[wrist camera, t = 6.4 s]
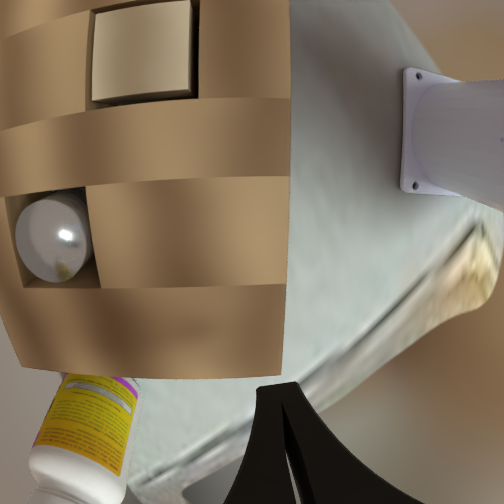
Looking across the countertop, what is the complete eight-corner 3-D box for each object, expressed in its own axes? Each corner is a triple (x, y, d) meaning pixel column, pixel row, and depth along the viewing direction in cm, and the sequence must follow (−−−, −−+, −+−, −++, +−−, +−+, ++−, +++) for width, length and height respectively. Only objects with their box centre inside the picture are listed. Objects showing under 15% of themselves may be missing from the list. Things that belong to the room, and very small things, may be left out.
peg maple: (198, 32, 14) (189, 0, 10) (197, 100, 16) (188, 89, 11) (126, 40, 14) (96, 14, 9) (125, 106, 15) (91, 100, 11)
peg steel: (111, 179, 17) (76, 196, 12) (119, 246, 18) (90, 282, 14) (53, 185, 16) (9, 205, 12) (62, 248, 18) (25, 282, 13)
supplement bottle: (61, 348, 21) (-7, 481, 9) (141, 362, 22) (104, 521, 10) (76, 405, 23) (36, 524, 11) (146, 418, 24) (126, 551, 12)
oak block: (270, -23, 13) (286, -65, 9) (269, 324, 21) (281, 375, 17) (21, 16, 12) (-22, -1, 7) (50, 325, 20) (21, 366, 15)
